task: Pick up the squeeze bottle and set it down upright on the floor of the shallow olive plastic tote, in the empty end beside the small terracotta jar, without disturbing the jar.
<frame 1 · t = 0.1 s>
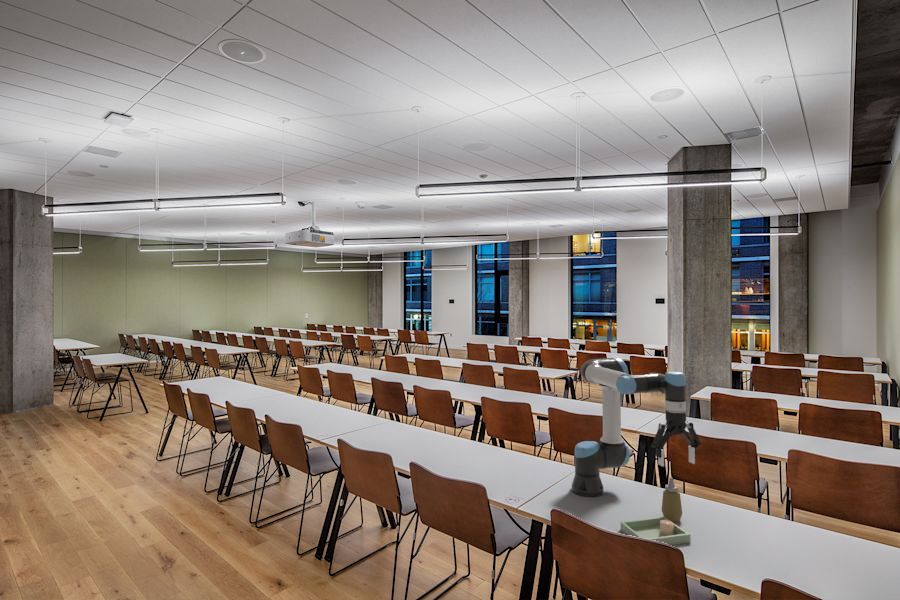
hand: (676, 464, 197), 28 cm above the table, fingers open, 13 cm apart
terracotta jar: (666, 533, 196), resting on tote
tote: (654, 536, 195), on the table
squeeze bottle: (672, 520, 209), on the table
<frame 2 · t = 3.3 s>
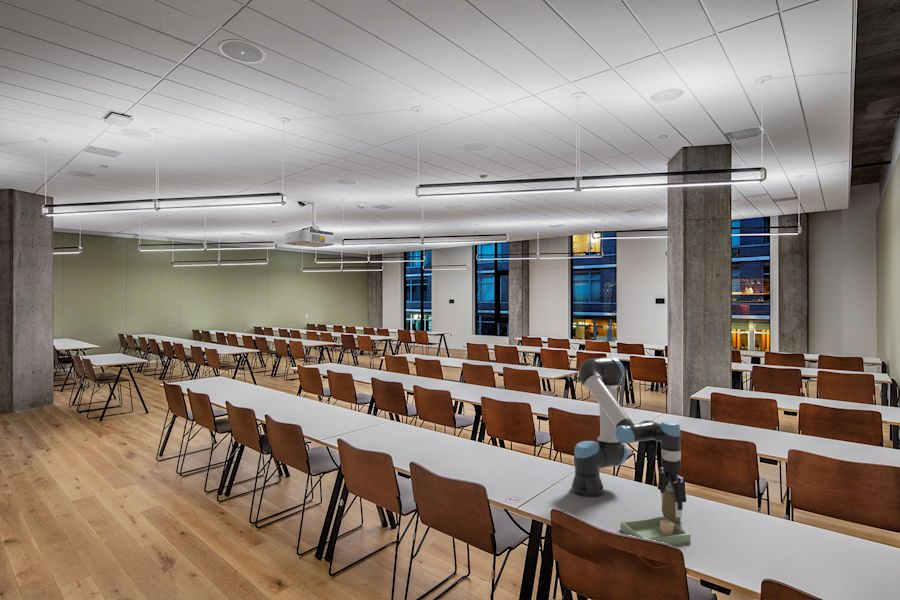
hand: (671, 512, 209), 3 cm above the table, fingers closed on squeeze bottle, 8 cm apart
squeeze bottle: (671, 520, 209), on the table, touching gripper
everything else where it was.
when the fingers open (6 cm above the table, at t = 9.4 s): squeeze bottle drops 2 cm, resting on tote.
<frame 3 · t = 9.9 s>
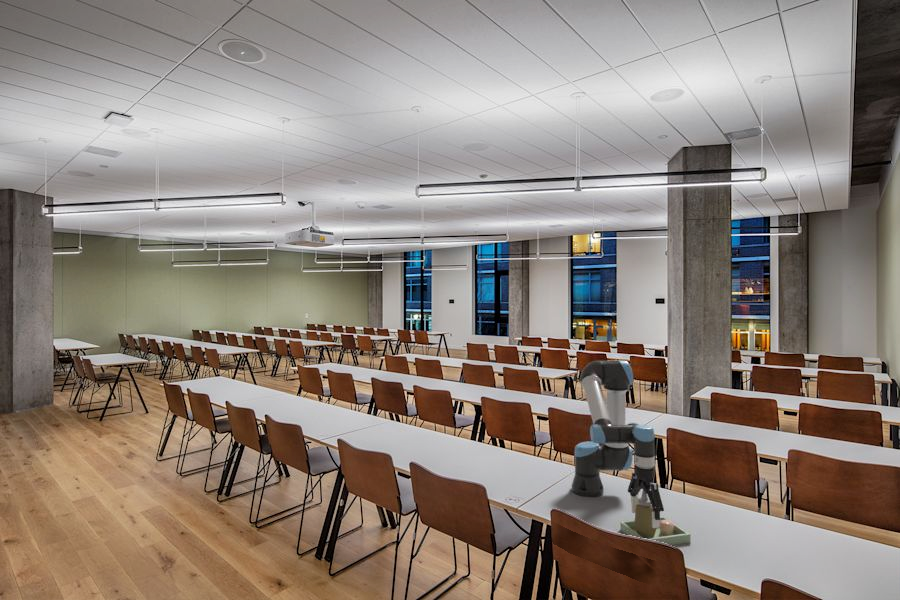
hand: (645, 519, 194), 7 cm above the table, fingers open, 13 cm apart
squeeze bottle: (645, 537, 194), resting on tote
everything else where it was.
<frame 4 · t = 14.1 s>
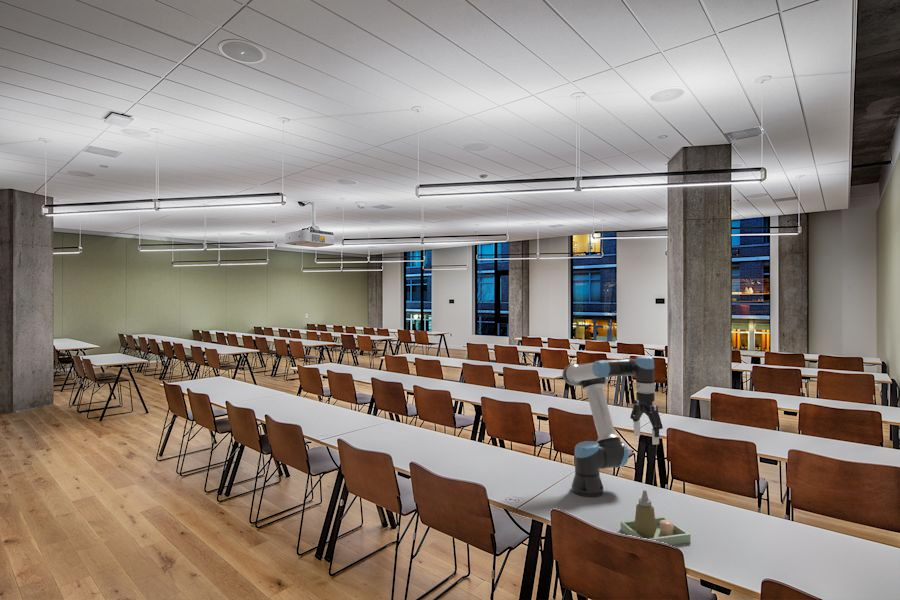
hand: (646, 440, 218), 32 cm above the table, fingers open, 13 cm apart
nothing on the table moved.
at the end: squeeze bottle inside the target area on the tote (0.2 cm from its centre), point 0.3 cm above the tote's base; squeeze bottle tilted 0°; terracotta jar moved 0.0 cm from its start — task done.
